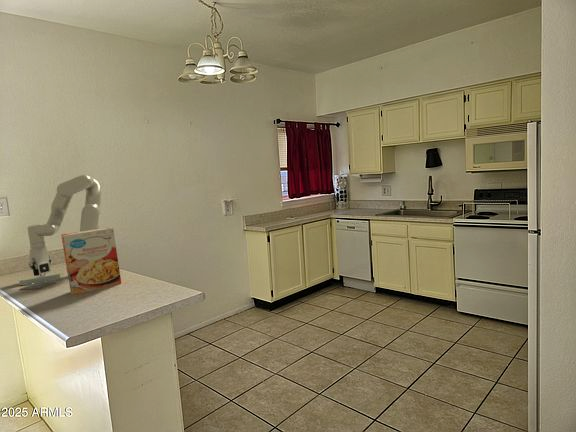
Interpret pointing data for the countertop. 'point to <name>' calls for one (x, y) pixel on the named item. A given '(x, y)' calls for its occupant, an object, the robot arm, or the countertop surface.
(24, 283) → the low wall
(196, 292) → the countertop surface
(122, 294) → the countertop surface
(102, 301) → the countertop surface
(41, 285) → the mat
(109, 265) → the pasta box
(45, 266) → the security camera
